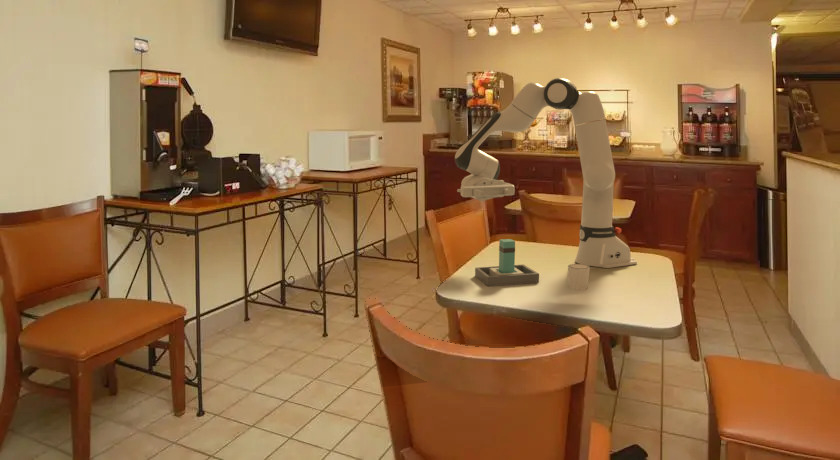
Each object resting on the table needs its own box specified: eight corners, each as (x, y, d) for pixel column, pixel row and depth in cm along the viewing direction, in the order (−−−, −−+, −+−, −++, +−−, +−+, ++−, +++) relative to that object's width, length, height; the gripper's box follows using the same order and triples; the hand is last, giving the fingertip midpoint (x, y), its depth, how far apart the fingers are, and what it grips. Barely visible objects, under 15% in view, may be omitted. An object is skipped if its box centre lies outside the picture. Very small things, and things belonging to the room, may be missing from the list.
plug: (509, 275, 194) (510, 238, 192) (514, 278, 190) (515, 241, 188) (498, 276, 193) (499, 239, 191) (502, 279, 189) (503, 241, 187)
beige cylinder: (590, 290, 178) (591, 269, 177) (567, 289, 179) (568, 268, 178) (588, 284, 184) (589, 263, 183) (566, 283, 186) (567, 263, 185)
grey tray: (523, 272, 200) (523, 264, 199) (538, 282, 187) (539, 273, 187) (475, 275, 196) (475, 267, 195) (487, 286, 183) (487, 277, 183)
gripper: (455, 181, 212) (466, 185, 199) (506, 179, 216) (520, 183, 203) (455, 198, 213) (466, 202, 200) (506, 196, 218) (520, 200, 204)
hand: (494, 193), depth 202 cm, fingers open, 8 cm apart
